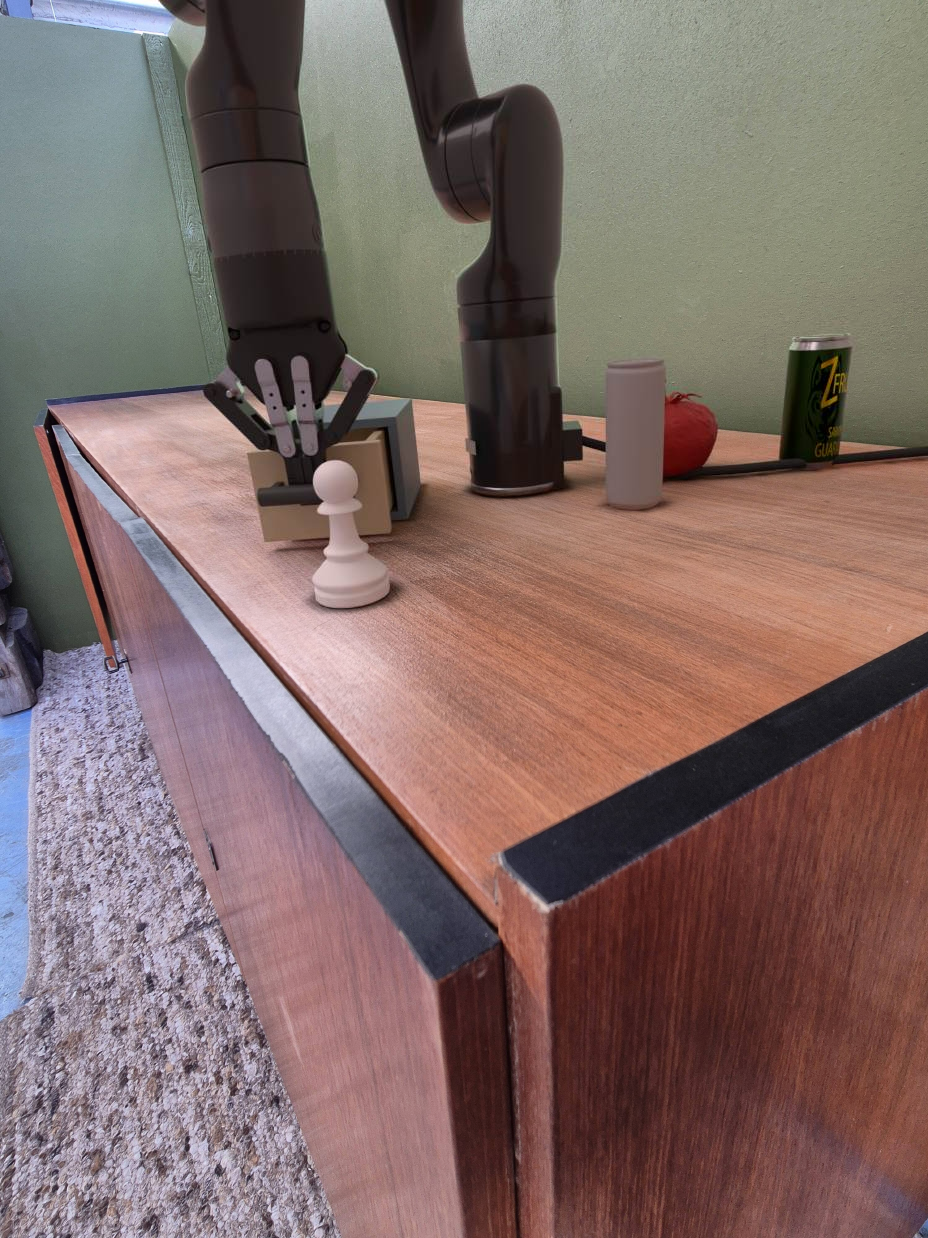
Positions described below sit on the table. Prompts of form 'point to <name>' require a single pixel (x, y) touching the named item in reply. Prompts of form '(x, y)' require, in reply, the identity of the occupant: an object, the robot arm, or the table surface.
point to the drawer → (304, 522)
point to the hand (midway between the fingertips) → (312, 502)
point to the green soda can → (815, 399)
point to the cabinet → (392, 446)
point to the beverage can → (634, 432)
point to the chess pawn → (345, 544)
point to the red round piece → (686, 434)
